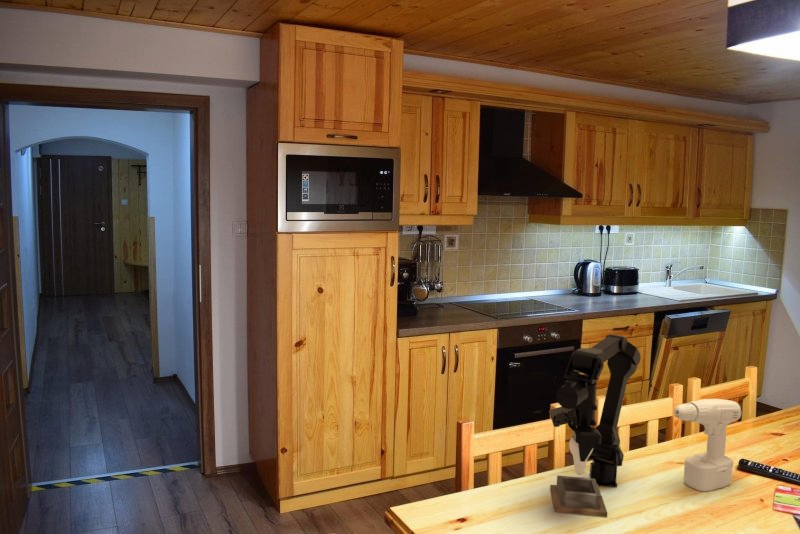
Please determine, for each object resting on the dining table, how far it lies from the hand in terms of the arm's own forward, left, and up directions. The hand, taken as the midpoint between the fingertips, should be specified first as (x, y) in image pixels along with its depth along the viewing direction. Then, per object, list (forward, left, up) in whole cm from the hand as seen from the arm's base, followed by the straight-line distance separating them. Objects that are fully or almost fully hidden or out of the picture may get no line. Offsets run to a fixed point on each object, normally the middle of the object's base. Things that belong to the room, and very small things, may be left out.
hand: (580, 456), depth 168 cm
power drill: (-36, -17, -13) cm, 42 cm away
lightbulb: (0, 0, -5) cm, 5 cm away
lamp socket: (0, 0, -13) cm, 13 cm away
